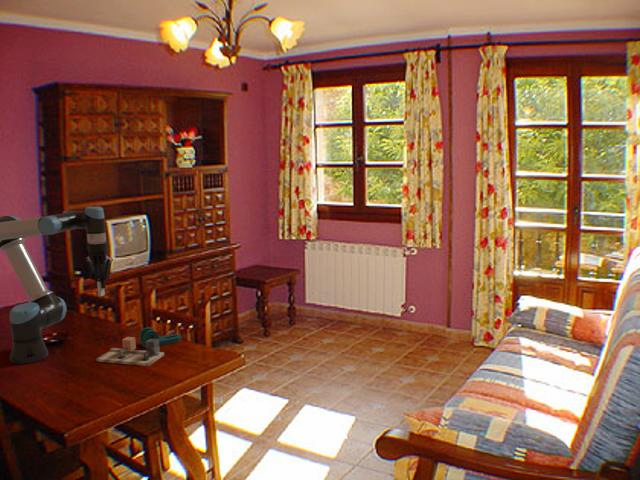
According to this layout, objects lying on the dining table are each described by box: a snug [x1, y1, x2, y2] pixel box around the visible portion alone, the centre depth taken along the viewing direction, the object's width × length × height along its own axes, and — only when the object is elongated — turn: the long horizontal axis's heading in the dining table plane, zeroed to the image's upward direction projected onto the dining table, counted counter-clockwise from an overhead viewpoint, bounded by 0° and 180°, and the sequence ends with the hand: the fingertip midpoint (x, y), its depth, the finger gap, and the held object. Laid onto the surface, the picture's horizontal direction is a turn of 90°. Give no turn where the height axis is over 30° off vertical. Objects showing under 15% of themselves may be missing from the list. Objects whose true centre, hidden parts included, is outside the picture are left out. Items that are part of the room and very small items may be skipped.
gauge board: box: [96, 339, 165, 367], centre depth 259 cm, size 25×13×8 cm, turn 75°
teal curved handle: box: [139, 326, 182, 349], centre depth 278 cm, size 18×7×8 cm, turn 121°
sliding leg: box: [119, 336, 137, 357], centre depth 261 cm, size 4×9×6 cm, turn 165°
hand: (101, 295), depth 262 cm, fingers closed
